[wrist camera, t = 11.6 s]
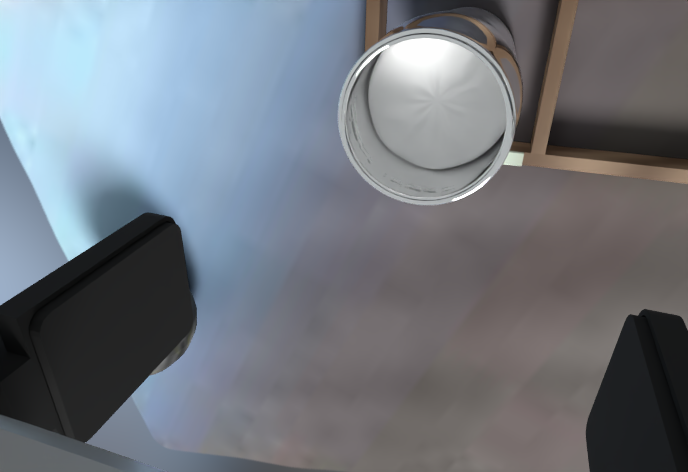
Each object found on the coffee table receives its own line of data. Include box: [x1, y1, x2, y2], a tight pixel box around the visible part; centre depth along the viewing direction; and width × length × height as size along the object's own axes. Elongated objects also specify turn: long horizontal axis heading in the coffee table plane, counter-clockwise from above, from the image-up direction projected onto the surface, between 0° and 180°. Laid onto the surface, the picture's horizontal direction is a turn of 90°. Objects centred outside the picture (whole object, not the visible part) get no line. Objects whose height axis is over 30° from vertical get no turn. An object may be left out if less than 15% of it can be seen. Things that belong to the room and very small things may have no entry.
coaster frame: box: [365, 0, 688, 184], centre depth 29 cm, size 22×11×2 cm, turn 90°
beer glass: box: [338, 7, 523, 206], centre depth 25 cm, size 7×7×15 cm
